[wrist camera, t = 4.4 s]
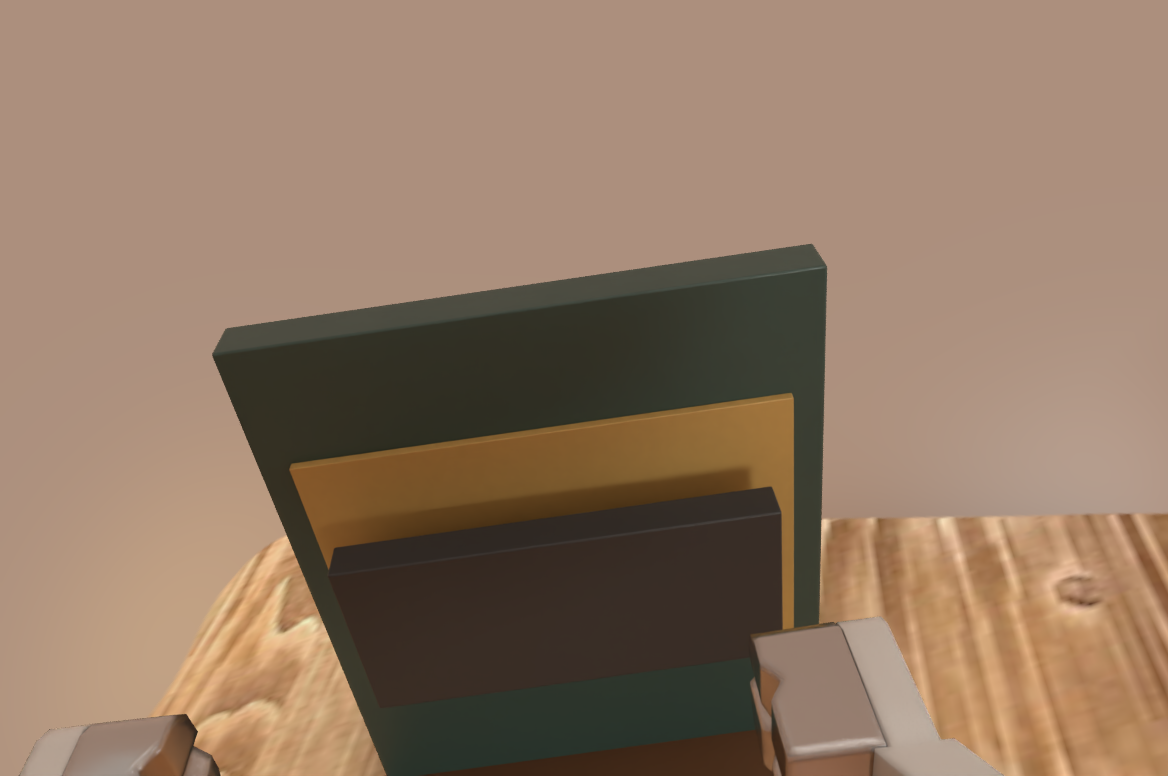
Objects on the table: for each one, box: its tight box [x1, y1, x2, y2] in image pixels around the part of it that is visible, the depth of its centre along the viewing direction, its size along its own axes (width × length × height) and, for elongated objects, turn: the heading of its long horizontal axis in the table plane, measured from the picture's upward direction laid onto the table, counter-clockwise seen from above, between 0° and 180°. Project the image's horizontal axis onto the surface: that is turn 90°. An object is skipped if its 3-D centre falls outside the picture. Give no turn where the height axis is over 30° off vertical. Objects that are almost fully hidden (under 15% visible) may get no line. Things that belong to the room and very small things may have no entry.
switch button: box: [328, 487, 783, 708], centre depth 28 cm, size 1×13×6 cm, turn 94°
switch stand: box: [212, 244, 827, 776], centre depth 30 cm, size 12×17×21 cm
